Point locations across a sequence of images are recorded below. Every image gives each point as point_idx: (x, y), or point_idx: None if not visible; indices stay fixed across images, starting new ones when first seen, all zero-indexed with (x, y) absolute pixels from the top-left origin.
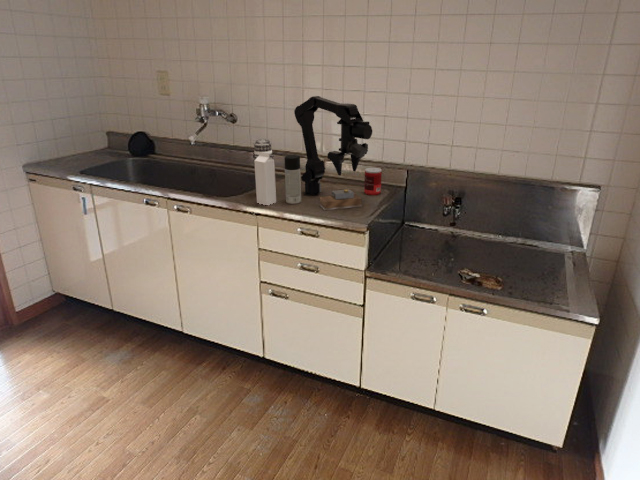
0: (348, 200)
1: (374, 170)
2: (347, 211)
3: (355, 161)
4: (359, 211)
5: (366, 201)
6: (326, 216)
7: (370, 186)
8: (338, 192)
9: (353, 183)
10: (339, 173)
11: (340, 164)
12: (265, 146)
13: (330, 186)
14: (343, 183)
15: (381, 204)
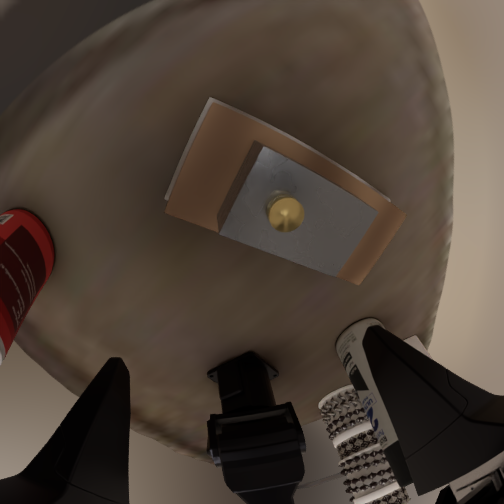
0: (300, 144)
1: None
2: (337, 100)
3: (96, 472)
4: (292, 50)
5: (119, 151)
6: (430, 140)
7: (22, 249)
8: (337, 228)
9: (52, 363)
10: (391, 341)
11: (481, 400)
12: (401, 500)
13: (138, 386)
14: (82, 380)
15: (96, 57)
